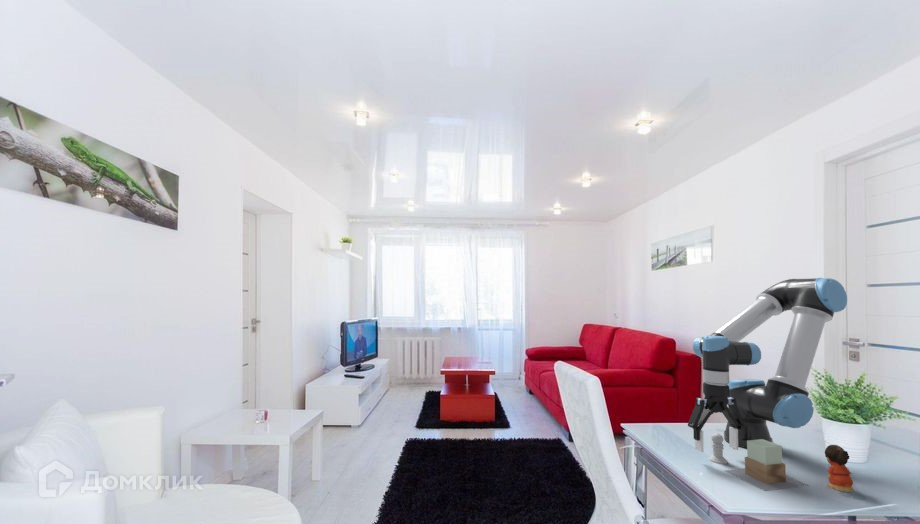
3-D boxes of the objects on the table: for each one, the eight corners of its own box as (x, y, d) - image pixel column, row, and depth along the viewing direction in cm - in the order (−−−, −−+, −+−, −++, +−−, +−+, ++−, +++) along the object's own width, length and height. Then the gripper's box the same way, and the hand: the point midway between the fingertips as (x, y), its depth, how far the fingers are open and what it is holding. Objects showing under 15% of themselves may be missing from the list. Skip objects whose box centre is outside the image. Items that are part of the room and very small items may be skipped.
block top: (763, 455, 132) (762, 439, 133) (782, 463, 126) (781, 445, 127) (747, 457, 131) (746, 440, 131) (765, 465, 125) (765, 447, 125)
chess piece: (705, 459, 143) (704, 431, 144) (717, 458, 145) (716, 430, 145) (719, 466, 138) (718, 437, 138) (731, 464, 139) (731, 435, 140)
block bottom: (763, 471, 133) (763, 455, 133) (785, 481, 126) (785, 463, 126) (745, 473, 131) (744, 456, 131) (766, 483, 124) (766, 465, 124)
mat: (765, 467, 137) (765, 466, 137) (810, 486, 123) (810, 485, 123) (723, 471, 133) (723, 470, 133) (765, 492, 120) (765, 490, 120)
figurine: (860, 493, 120) (858, 448, 121) (846, 495, 118) (844, 450, 119) (835, 483, 126) (833, 441, 127) (821, 485, 124) (819, 442, 125)
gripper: (737, 380, 149) (738, 443, 148) (675, 381, 144) (675, 447, 142) (756, 384, 142) (757, 451, 141) (692, 386, 136) (693, 455, 135)
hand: (716, 449), depth 141 cm, fingers open, 13 cm apart
